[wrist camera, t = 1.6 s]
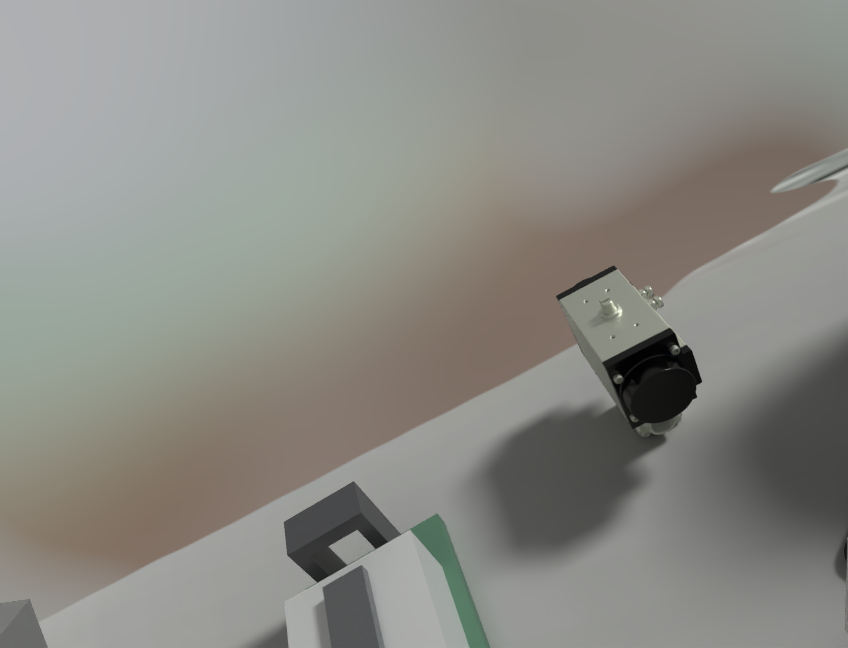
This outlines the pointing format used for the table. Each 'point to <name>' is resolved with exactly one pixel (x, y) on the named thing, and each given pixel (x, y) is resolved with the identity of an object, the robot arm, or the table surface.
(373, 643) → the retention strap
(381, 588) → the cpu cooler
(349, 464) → the table surface
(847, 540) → the handheld game console
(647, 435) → the pneumatic valve
